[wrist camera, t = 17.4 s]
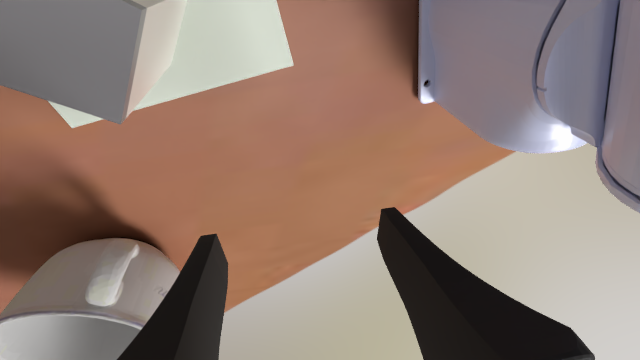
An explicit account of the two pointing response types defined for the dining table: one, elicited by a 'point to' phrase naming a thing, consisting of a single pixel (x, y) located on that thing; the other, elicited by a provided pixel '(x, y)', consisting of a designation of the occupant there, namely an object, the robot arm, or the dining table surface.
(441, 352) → the robot arm
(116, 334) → the teacup
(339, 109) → the dining table surface
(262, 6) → the mat
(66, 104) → the plug
